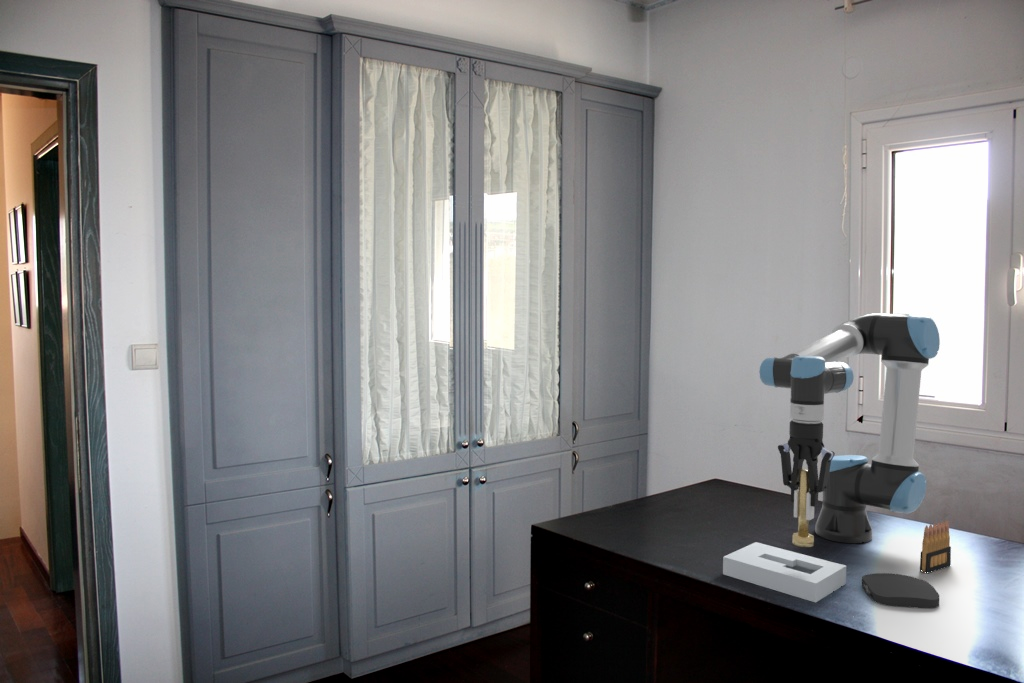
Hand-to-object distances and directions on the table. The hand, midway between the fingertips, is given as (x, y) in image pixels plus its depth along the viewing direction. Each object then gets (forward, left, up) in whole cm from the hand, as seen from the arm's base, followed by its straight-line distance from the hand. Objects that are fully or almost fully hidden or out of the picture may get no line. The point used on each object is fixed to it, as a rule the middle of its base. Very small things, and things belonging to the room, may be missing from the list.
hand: (803, 517), depth 184 cm
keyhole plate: (+3, -4, -17) cm, 17 cm away
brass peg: (0, 0, -6) cm, 6 cm away
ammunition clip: (-38, -12, -17) cm, 43 cm away
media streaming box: (-21, +5, -17) cm, 27 cm away
